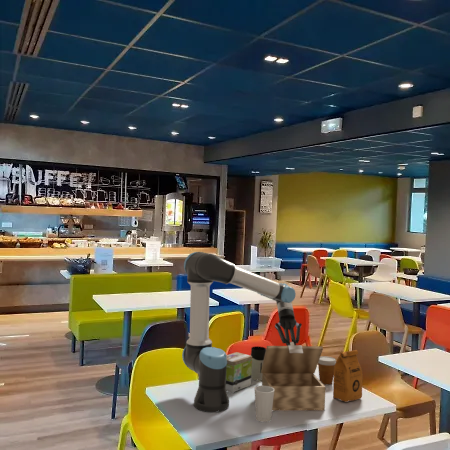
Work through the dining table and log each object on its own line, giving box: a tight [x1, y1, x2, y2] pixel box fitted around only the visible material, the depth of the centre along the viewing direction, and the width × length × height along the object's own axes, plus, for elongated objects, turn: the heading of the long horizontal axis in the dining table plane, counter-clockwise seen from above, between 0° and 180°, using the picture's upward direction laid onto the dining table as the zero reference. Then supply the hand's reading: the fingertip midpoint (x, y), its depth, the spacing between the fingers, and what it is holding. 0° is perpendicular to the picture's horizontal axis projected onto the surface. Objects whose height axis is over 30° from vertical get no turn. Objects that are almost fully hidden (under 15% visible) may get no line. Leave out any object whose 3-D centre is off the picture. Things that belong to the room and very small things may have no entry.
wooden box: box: [261, 373, 326, 412], centre depth 208 cm, size 24×18×10 cm
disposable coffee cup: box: [317, 355, 337, 385], centre depth 237 cm, size 10×10×12 cm
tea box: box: [226, 351, 252, 394], centre depth 225 cm, size 15×10×15 cm, turn 143°
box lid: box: [261, 344, 324, 374], centre depth 211 cm, size 25×19×4 cm
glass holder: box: [250, 345, 267, 381], centre depth 238 cm, size 9×14×15 cm, turn 44°
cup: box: [254, 385, 274, 423], centre depth 190 cm, size 8×8×12 cm
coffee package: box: [332, 349, 364, 403], centre depth 215 cm, size 10×12×22 cm
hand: (293, 356), depth 212 cm, fingers closed
